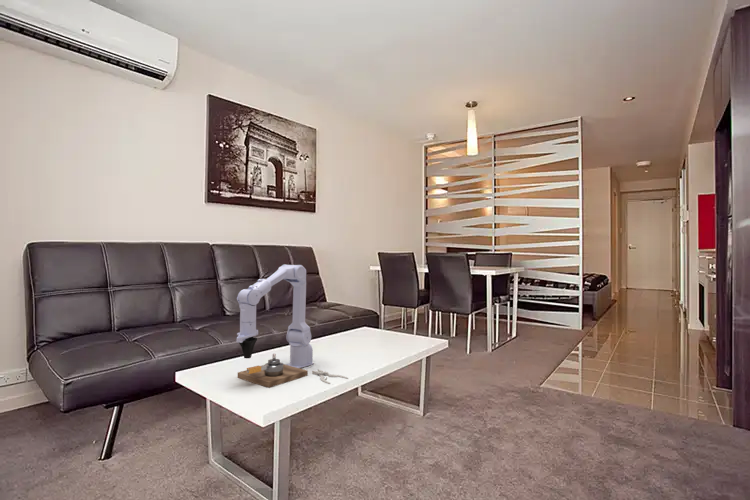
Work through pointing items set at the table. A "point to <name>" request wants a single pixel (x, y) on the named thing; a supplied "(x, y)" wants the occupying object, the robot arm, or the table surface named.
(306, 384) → the table surface
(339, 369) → the table surface
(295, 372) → the bench block
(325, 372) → the pliers
